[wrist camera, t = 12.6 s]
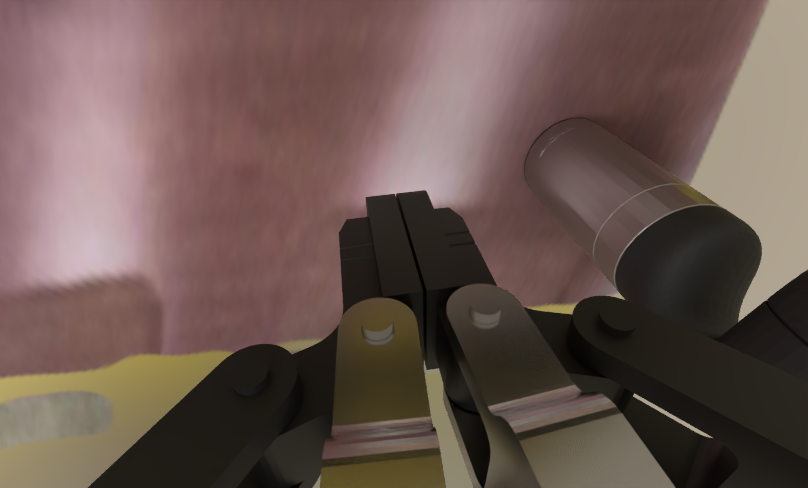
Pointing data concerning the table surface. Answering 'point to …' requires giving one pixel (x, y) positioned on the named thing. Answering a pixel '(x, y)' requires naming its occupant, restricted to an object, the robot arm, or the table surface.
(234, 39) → the table surface
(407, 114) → the table surface
